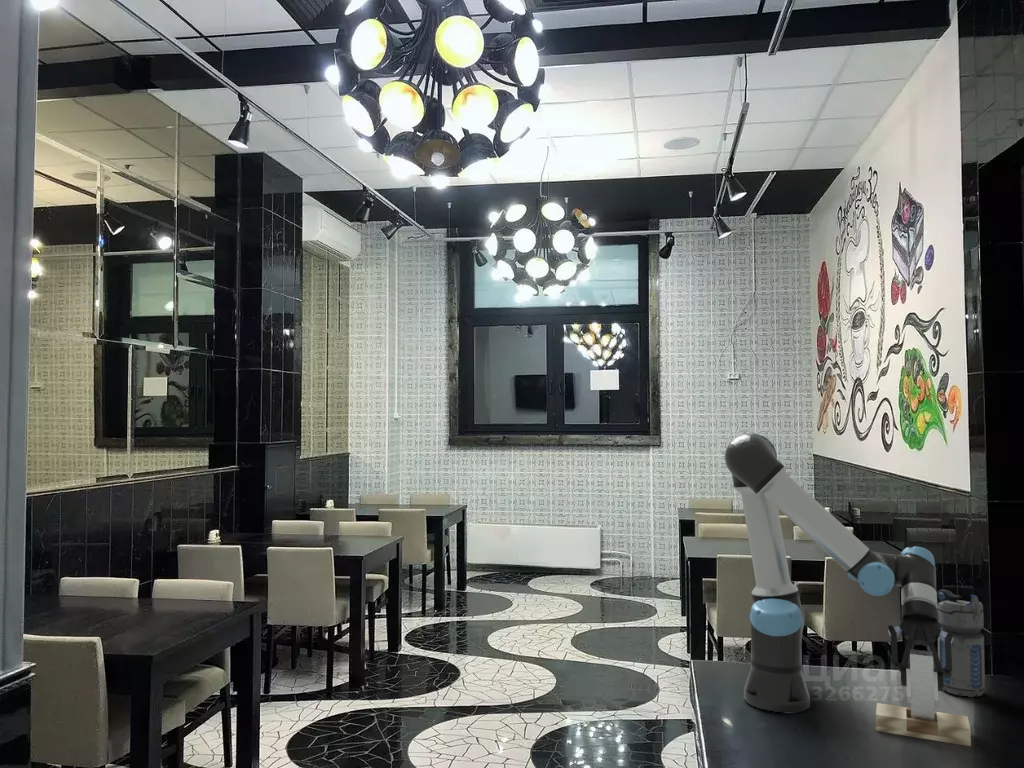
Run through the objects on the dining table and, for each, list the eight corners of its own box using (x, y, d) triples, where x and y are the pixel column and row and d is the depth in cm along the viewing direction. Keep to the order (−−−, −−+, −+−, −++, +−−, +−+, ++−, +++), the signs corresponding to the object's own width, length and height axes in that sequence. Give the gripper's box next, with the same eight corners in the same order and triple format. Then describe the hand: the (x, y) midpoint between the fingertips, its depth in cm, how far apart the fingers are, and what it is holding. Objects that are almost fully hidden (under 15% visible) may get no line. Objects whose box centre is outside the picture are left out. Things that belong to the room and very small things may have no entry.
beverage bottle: (955, 680, 206) (953, 584, 207) (997, 698, 193) (995, 595, 195) (922, 683, 204) (920, 586, 205) (962, 701, 191) (960, 597, 192)
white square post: (911, 718, 172) (909, 653, 172) (911, 712, 175) (909, 649, 176) (934, 722, 170) (933, 656, 170) (933, 716, 173) (932, 651, 174)
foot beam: (876, 730, 173) (875, 714, 173) (877, 718, 180) (876, 702, 180) (970, 746, 165) (970, 729, 165) (967, 732, 172) (967, 716, 172)
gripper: (961, 620, 183) (969, 716, 168) (878, 612, 191) (878, 703, 175) (962, 602, 179) (970, 699, 163) (877, 594, 186) (876, 686, 171)
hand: (922, 701), depth 169 cm, fingers closed on white square post, 4 cm apart
